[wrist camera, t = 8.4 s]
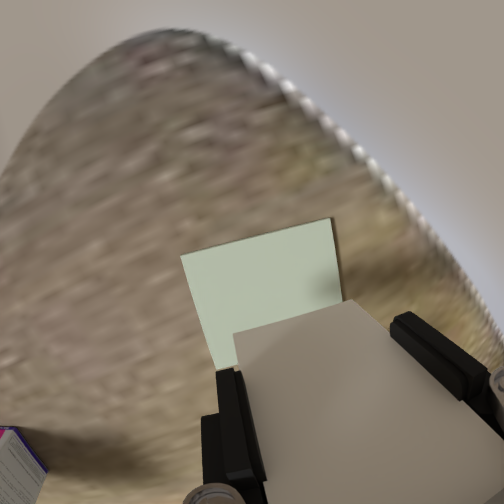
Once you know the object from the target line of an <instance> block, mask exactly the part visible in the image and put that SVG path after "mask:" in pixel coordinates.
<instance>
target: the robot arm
mask: <svg viewBox="0 0 504 504" xmlns="http://www.w3.org/2000/svg"><path fill="white" fill-rule="evenodd" d="M390 337H391V338H392V339H394V340H395V341H396V342H397V343H398V344H399V345H400V346H401V347H402V348H403V349H404V350H405V351H406V352H408V353H409V354H410V355H411V356H412V357H413V358H414V359H415V360H416V361H417V362H418V363H419V364H420V365H421V366H423V367H424V368H425V369H426V370H427V371H428V372H429V373H430V374H431V375H432V376H433V377H434V378H435V379H436V380H437V381H438V382H439V383H440V384H442V385H443V386H444V387H445V388H446V389H447V390H448V391H449V392H450V393H451V394H452V395H453V396H454V397H455V398H456V399H457V400H458V401H459V402H460V401H461V400H463V401H464V402H465V403H466V404H467V405H468V406H469V407H470V408H471V409H472V410H473V411H474V412H475V413H476V414H477V415H478V416H479V417H480V418H481V419H482V420H483V421H484V422H486V423H487V424H488V425H489V426H490V427H491V428H492V429H493V430H494V431H495V432H496V433H497V434H498V435H499V436H500V437H501V438H502V439H503V440H504V366H502V367H499V368H498V369H496V370H495V371H494V372H493V373H492V374H490V373H489V372H488V371H487V369H488V368H486V367H485V366H484V365H482V364H481V363H480V362H479V361H477V360H476V359H475V358H473V357H472V356H471V355H469V354H468V353H467V352H465V351H464V350H463V349H461V348H460V347H459V346H457V345H456V344H455V343H453V342H452V341H451V340H449V339H448V338H447V337H445V336H444V335H443V334H441V333H440V332H439V331H437V330H436V329H435V328H433V327H432V326H430V325H429V324H428V323H426V322H425V321H424V320H422V319H421V318H419V317H418V316H417V315H415V314H414V313H412V312H411V311H408V312H405V313H403V314H400V315H398V316H395V317H394V320H393V322H392V323H391V324H390ZM216 384H217V395H218V406H219V413H216V414H211V415H206V416H202V417H201V443H202V467H203V485H201V486H199V487H197V488H195V489H194V490H192V491H191V492H190V493H189V494H188V495H187V496H186V498H185V499H184V501H183V504H268V501H267V497H266V493H265V488H264V484H263V482H264V481H267V477H266V473H265V469H264V464H263V460H262V456H261V452H260V447H259V443H258V439H257V435H256V430H255V426H254V421H253V417H252V412H251V408H250V403H249V399H248V394H247V390H246V385H245V381H244V378H243V375H242V372H241V370H240V371H236V372H235V371H234V369H233V368H229V369H225V370H220V371H216ZM484 504H504V488H503V489H502V490H501V491H499V492H498V493H497V494H496V495H494V496H493V497H492V498H490V499H489V500H488V501H486V502H485V503H484Z"/></svg>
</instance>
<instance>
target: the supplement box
mask: <svg viewBox="0 0 504 504" xmlns="http://www.w3.org/2000/svg"><path fill="white" fill-rule="evenodd" d="M48 472H49V470H48V469H47V468H46V466H45V465H44V464H43V463H42V461H41V460H40V459H39V458H38V456H37V455H36V454H35V453H34V451H33V450H32V449H31V447H30V446H29V444H28V443H27V442H26V440H25V439H24V437H23V436H22V434H21V433H20V432H19V430H18V429H17V428H16V427H0V504H35V503H36V500H37V497H38V495H39V493H40V490H41V488H42V485H43V483H44V480H45V478H46V475H47V473H48Z"/></svg>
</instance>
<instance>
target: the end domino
mask: <svg viewBox="0 0 504 504" xmlns="http://www.w3.org/2000/svg"><path fill="white" fill-rule="evenodd" d="M233 340H234V345H235V350H236V355H237V361H238V366H239V371H240V370H241V372H242V375H243V378H244V381H245V385H246V390H247V394H248V399H249V403H250V408H251V412H252V417H253V421H254V426H255V430H256V435H257V439H258V443H259V447H260V452H261V456H262V460H263V464H264V469H265V473H266V477H267V481H264V482H263V484H264V488H265V493H266V497H267V501H268V504H484V503H485V502H486V501H488V500H489V499H490V498H492V497H493V496H494V495H496V494H497V493H498V492H499V491H501V490H502V489H503V488H504V440H503V439H502V438H501V437H500V436H499V435H498V434H497V433H496V432H495V431H494V430H493V429H492V428H491V427H490V426H489V425H488V424H487V423H486V422H484V421H483V420H482V419H481V418H480V417H479V416H478V415H477V414H476V413H475V412H474V411H473V410H472V409H471V408H470V407H469V406H468V405H467V404H466V403H465V402H464V401H463V400H461V401H460V402H459V401H458V400H457V399H456V398H455V397H454V396H453V395H452V394H451V393H450V392H449V391H448V390H447V389H446V388H445V387H444V386H443V385H442V384H440V383H439V382H438V381H437V380H436V379H435V378H434V377H433V376H432V375H431V374H430V373H429V372H428V371H427V370H426V369H425V368H424V367H423V366H421V365H420V364H419V363H418V362H417V361H416V360H415V359H414V358H413V357H412V356H411V355H410V354H409V353H408V352H406V351H405V350H404V349H403V348H402V347H401V346H400V345H399V344H398V343H397V342H396V341H395V340H394V339H392V338H391V337H390V333H389V332H388V331H387V330H386V329H385V328H384V327H383V326H382V325H380V324H379V323H378V322H377V321H376V320H375V319H374V318H373V317H372V316H370V315H369V314H368V313H367V312H366V311H365V310H364V309H363V308H361V307H360V306H359V305H358V304H357V303H356V302H355V301H354V300H352V299H351V300H347V301H344V302H341V303H338V304H335V305H332V306H328V307H325V308H322V309H319V310H315V311H312V312H309V313H305V314H302V315H299V316H295V317H292V318H288V319H285V320H281V321H278V322H274V323H270V324H267V325H263V326H259V327H256V328H252V329H248V330H244V331H240V332H237V333H233Z"/></svg>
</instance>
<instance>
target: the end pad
mask: <svg viewBox="0 0 504 504" xmlns="http://www.w3.org/2000/svg"><path fill="white" fill-rule="evenodd" d="M181 260H182V263H183V267H184V270H185V274H186V277H187V280H188V284H189V287H190V290H191V294H192V297H193V300H194V303H195V307H196V310H197V313H198V316H199V319H200V322H201V325H202V329H203V332H204V335H205V338H206V341H207V344H208V347H209V350H210V353H211V355H212V358H213V361H214V364H215V367H216V369H221V368H225V367H229V366H233V365H237V364H238V361H237V355H236V350H235V345H234V340H233V333H237V332H240V331H244V330H248V329H252V328H256V327H259V326H263V325H267V324H270V323H274V322H278V321H281V320H285V319H288V318H292V317H295V316H299V315H302V314H305V313H309V312H312V311H315V310H319V309H322V308H325V307H328V306H332V305H335V304H338V303H341V302H342V295H341V287H340V279H339V272H338V265H337V259H336V252H335V246H334V239H333V233H332V227H331V221H330V218H325V219H321V220H316V221H312V222H308V223H304V224H300V225H296V226H292V227H288V228H284V229H280V230H276V231H272V232H268V233H264V234H260V235H256V236H252V237H248V238H244V239H240V240H236V241H232V242H228V243H224V244H220V245H216V246H213V247H209V248H205V249H201V250H197V251H193V252H189V253H185V254H182V255H181Z"/></svg>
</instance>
